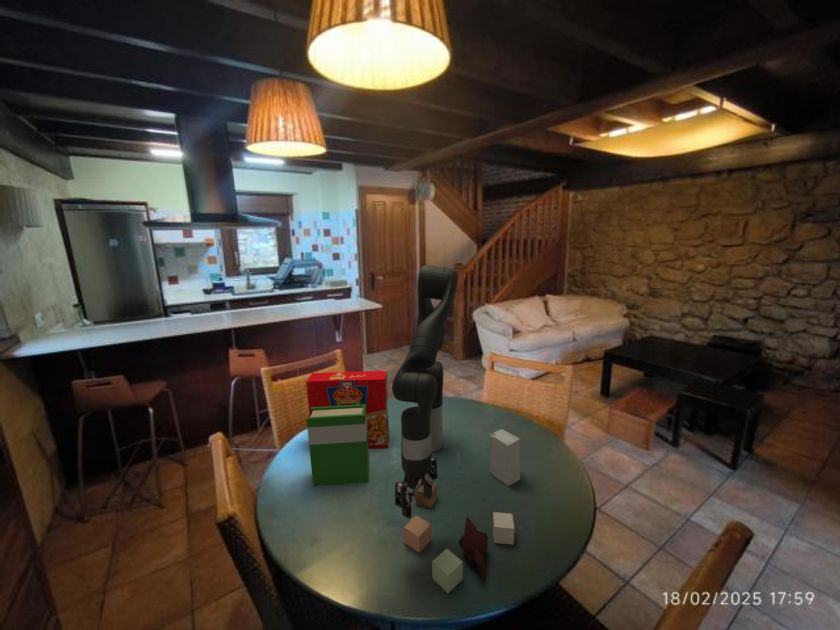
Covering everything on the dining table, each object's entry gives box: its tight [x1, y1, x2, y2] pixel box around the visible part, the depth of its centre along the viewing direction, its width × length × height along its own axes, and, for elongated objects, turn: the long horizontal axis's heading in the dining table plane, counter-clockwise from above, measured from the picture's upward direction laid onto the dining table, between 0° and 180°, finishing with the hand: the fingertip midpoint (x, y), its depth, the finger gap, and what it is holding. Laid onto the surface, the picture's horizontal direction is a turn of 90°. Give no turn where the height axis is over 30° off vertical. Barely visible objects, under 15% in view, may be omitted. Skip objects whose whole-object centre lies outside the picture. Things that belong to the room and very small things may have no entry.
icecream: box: [458, 516, 489, 579], centre depth 90 cm, size 7×7×15 cm
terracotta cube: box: [403, 515, 432, 554], centre depth 94 cm, size 5×5×5 cm
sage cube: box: [431, 548, 464, 594], centre depth 84 cm, size 5×5×5 cm
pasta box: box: [305, 370, 390, 450], centre depth 136 cm, size 28×8×28 cm, turn 92°
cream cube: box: [492, 511, 515, 545], centre depth 95 cm, size 5×5×5 cm
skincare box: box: [489, 428, 521, 487], centre depth 117 cm, size 8×6×15 cm
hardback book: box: [306, 404, 370, 487], centre depth 117 cm, size 18×7×24 cm, turn 95°
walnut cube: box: [414, 482, 438, 510], centre depth 108 cm, size 5×5×5 cm
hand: (417, 506), depth 92 cm, fingers open, 8 cm apart
